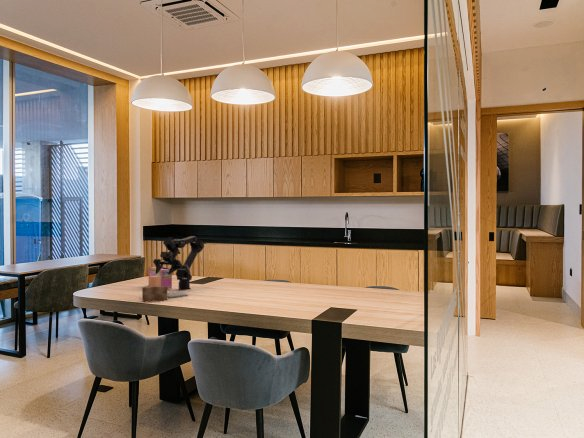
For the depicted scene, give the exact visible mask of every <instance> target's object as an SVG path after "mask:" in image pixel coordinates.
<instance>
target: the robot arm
mask: <svg viewBox="0 0 584 438" xmlns="http://www.w3.org/2000/svg"><path fill="white" fill-rule="evenodd" d="M162 243H163V245H164V246H165V248H166V250H167V251H160V255H159V257H160V258H162V259H160V258H154V259H153V261H152V264H154V266H155V267H156V274H157V273H158V272H159V271H160V270H161V267H164V266H163V265H165V266H170V267H169V269H170V270H169V272H168V275H170V274H171V273H172V274H173V273H174V272H175V271H176V272H175V275H176V280H178V288H179V290H181V291H182V290H183V291H184V290H190V289H191V288H192V287H190V285H191V284H190V283H191V282H190V281H191V280H192V278H193V276H192V274H191V266H192V265H193V263H194V261H195V259H196V257H197V255H198V254H199V253H201V252H202V251H203V250H204V248H205V244H204V242H203V240H201V239H199V237H197V236H195V235H189V236H188V237H184V238H182V239H181V238H180V239H179V238H177V239H173V237H168V238H166V239H164V240H163V242H162ZM186 245H189V246H190V249H191V250H190V252H189V254H188V256H187V257H186V259H185V261H184V262H183V263H182V262H181V261H180V259H177V257H178V255H180V254H181V251H180V249H183V248H185V246H186Z"/></svg>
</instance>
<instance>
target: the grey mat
mask: <svg viewBox="0 0 584 438" xmlns="http://www.w3.org/2000/svg"><path fill="white" fill-rule="evenodd" d="M183 296H184V297H188V296H189V294H188V293H185V292H181V291H175V292H169V293H168V292H167V297H168V298H167V299H174V298H175V297H176V298H182V297H183ZM184 297H183V298H184Z"/></svg>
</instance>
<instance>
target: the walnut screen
mask: <svg viewBox="0 0 584 438" xmlns="http://www.w3.org/2000/svg"><path fill="white" fill-rule="evenodd" d="M141 289H142V290H141V291H142V294H141V295H142V302H145V303H147V302H146V301H148V302H152V300H155V301H160V302H161V301H162V302H163V301H164V300H165V301H168V298H167V293H168V289H167V286H158V287H149V286H143V287H141Z"/></svg>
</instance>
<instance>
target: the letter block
mask: <svg viewBox="0 0 584 438" xmlns="http://www.w3.org/2000/svg"><path fill="white" fill-rule="evenodd" d="M158 286H161V276H150V277H149V276H148V287H158Z"/></svg>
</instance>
